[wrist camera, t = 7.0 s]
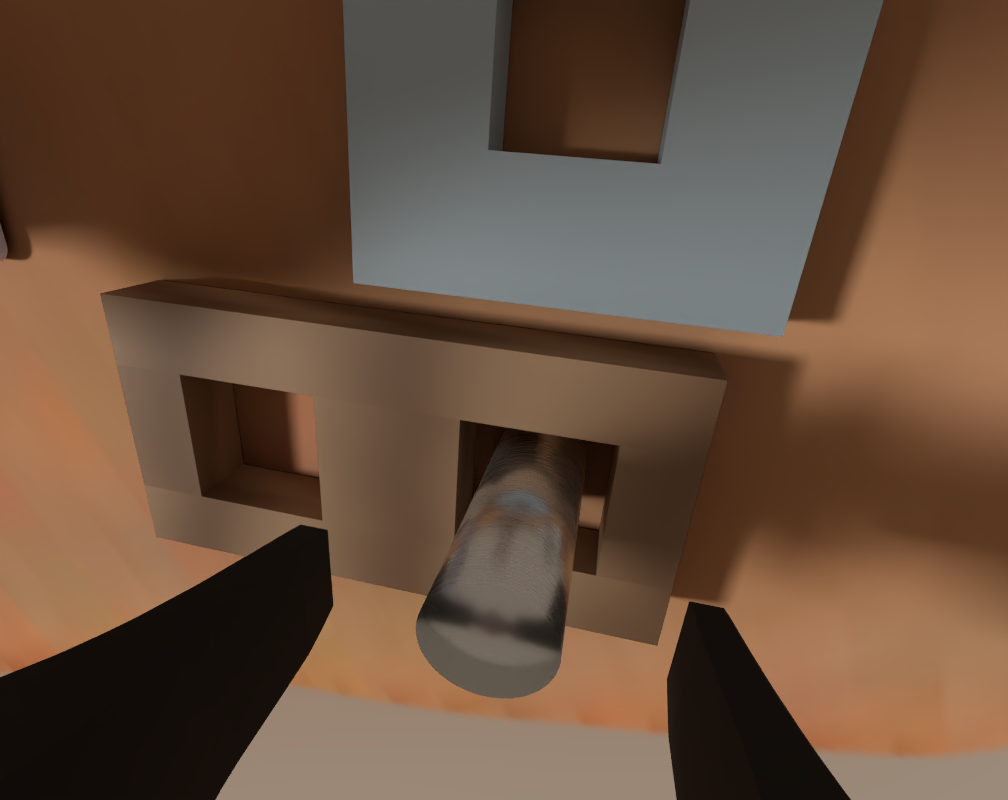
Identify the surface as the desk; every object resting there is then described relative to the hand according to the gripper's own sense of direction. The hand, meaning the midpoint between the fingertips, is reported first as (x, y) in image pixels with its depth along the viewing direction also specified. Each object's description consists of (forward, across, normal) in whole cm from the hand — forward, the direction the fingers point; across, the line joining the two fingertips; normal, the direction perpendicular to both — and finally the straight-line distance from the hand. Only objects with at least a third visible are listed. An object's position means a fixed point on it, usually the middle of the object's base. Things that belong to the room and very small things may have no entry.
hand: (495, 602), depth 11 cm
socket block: (+6, 0, -10) cm, 11 cm away
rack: (+6, +4, 0) cm, 7 cm away
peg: (+6, 0, 0) cm, 6 cm away
